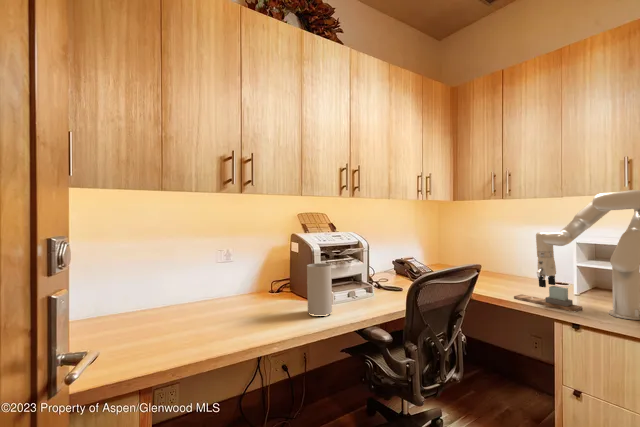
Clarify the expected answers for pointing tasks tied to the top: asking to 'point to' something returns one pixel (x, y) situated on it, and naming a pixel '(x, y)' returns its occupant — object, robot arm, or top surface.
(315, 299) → the cylinder vase
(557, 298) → the sanding block
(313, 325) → the top surface
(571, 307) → the walnut plank
